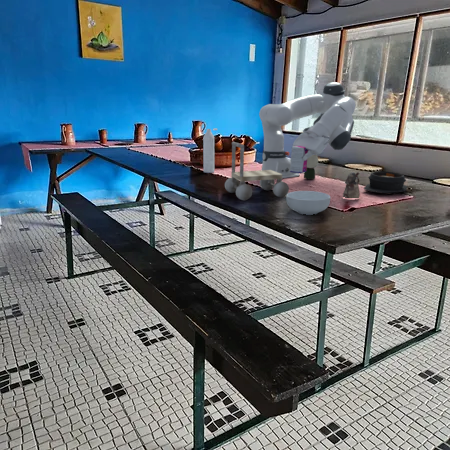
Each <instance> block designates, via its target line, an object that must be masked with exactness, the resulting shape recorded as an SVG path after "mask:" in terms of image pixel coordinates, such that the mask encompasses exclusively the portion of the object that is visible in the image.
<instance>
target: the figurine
mask: <svg viewBox="0 0 450 450" xmlns="http://www.w3.org/2000/svg"><path fill="white" fill-rule="evenodd" d="M359 175H360V172H356V173H355V172H353V171H352V172H350V173H349V174H347V177H346V179H345V181H344V184H345V187H344V191H343V193H342V197H345V198H359V199H360V187H359V183H360V177H359ZM356 180H357V181H356Z"/></svg>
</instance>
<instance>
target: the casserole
mask: <svg viewBox="0 0 450 450" xmlns="http://www.w3.org/2000/svg"><path fill="white" fill-rule="evenodd" d="M405 177H406V176H405V175H404V174H401V173H398V172H393V171H392V172H391V171H374V172H371V173H370V175H369V176H368V177H367V178H368V180H369V183H367V184H366V185H365V186H364V187H363V190H365V191H368V192H372V193H378V194H384V193H395V194H399V193H403V192H406V191H407V188H408V185H405V183H406V181H407V179H406V178H405Z"/></svg>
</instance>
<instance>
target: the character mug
mask: <svg viewBox="0 0 450 450" xmlns="http://www.w3.org/2000/svg"><path fill="white" fill-rule="evenodd" d="M318 156H319V155H315V154H313V155H312V156H311V157H309V158H307V168H306V172H304V173H303V179H306V180H315V179H316V170H315V169H317V167H318V164H319V158H318Z"/></svg>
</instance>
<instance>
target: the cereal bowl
mask: <svg viewBox="0 0 450 450" xmlns="http://www.w3.org/2000/svg"><path fill="white" fill-rule="evenodd" d="M285 201H286V205H288V208H289V209H291V210H293V211H295V212H296V213H298V214H300V215H303V214H306V215H305V216H311V215H313V214H315V215H317V214H318V213H321V212H324V211H325V210H326V209H328V207H329V205H330V202H331V195H329V194H328V193H325V192H321V191H316V190H315V191H314V190H296V191H289V192H288V193H287V195H286V196H285Z"/></svg>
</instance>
